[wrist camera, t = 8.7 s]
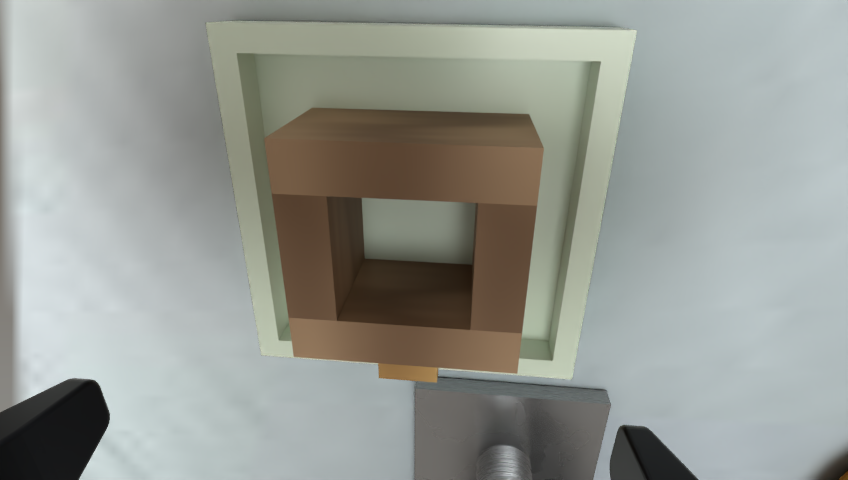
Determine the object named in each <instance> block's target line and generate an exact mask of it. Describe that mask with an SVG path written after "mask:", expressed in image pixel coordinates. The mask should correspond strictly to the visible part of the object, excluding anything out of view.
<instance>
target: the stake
mask: <svg viewBox="0 0 848 480" xmlns="http://www.w3.org/2000/svg"><path fill="white" fill-rule="evenodd" d="M610 406H611V403H610V400H609V397H608V394H607V391H606V390H593V389H580V388H568V387H555V386H542V385H530V384H517V383H505V382H492V381H479V380H467V379H454V378H441V377H438V378H437V382H424V381H416V387H415V480H593V477H594V473H595V469H596V465H597V461H598V457H599V452H600V448H601V444H602V440H603V436H604V431H605V427H606V423H607V419H608V415H609V410H610Z"/></svg>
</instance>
